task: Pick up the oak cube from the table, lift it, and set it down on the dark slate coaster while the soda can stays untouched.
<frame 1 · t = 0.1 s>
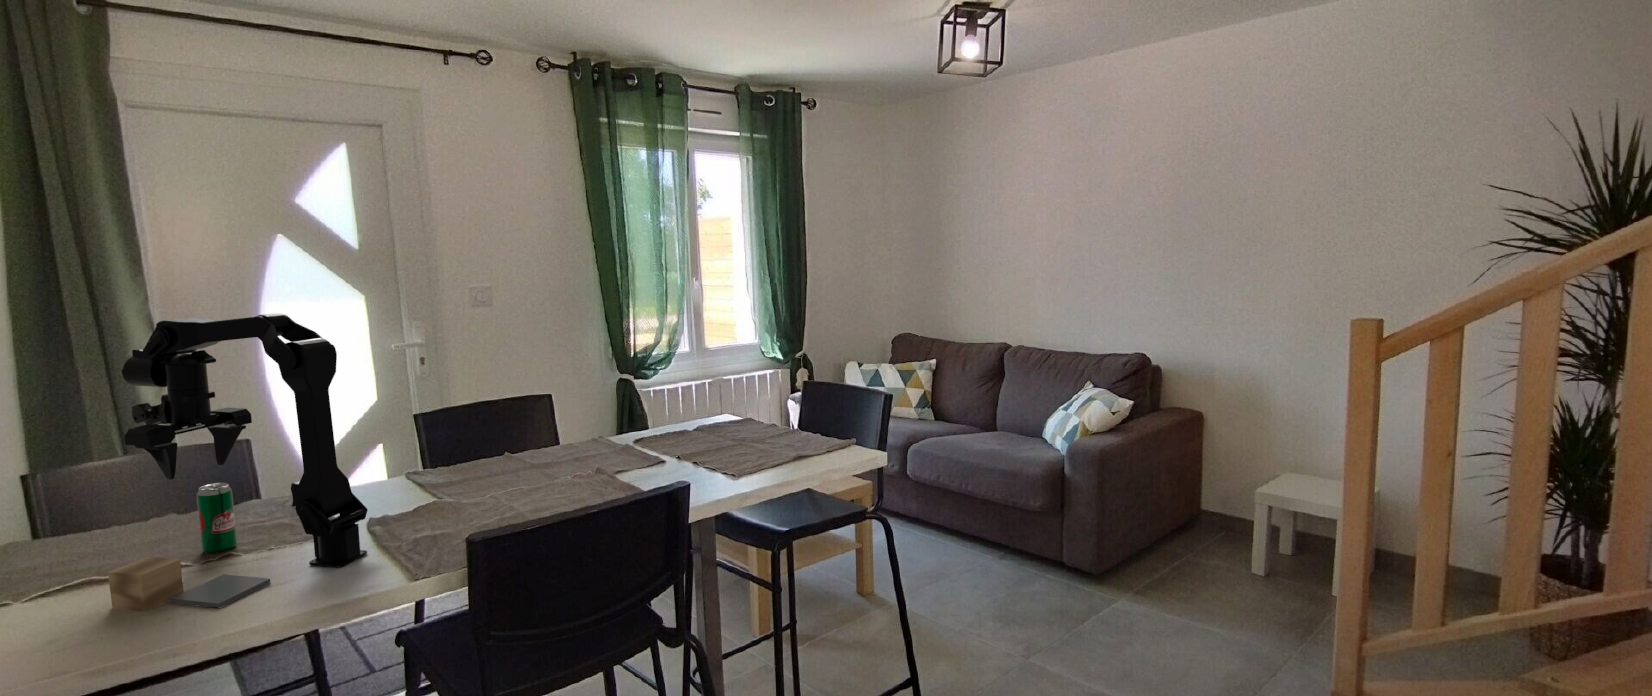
hand: (196, 471, 138), 15 cm above the table, tool pointing down, fingers open, 9 cm apart
soda can: (220, 549, 139), on the table
slate coaster: (221, 592, 122), on the table
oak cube: (148, 601, 119), on the table
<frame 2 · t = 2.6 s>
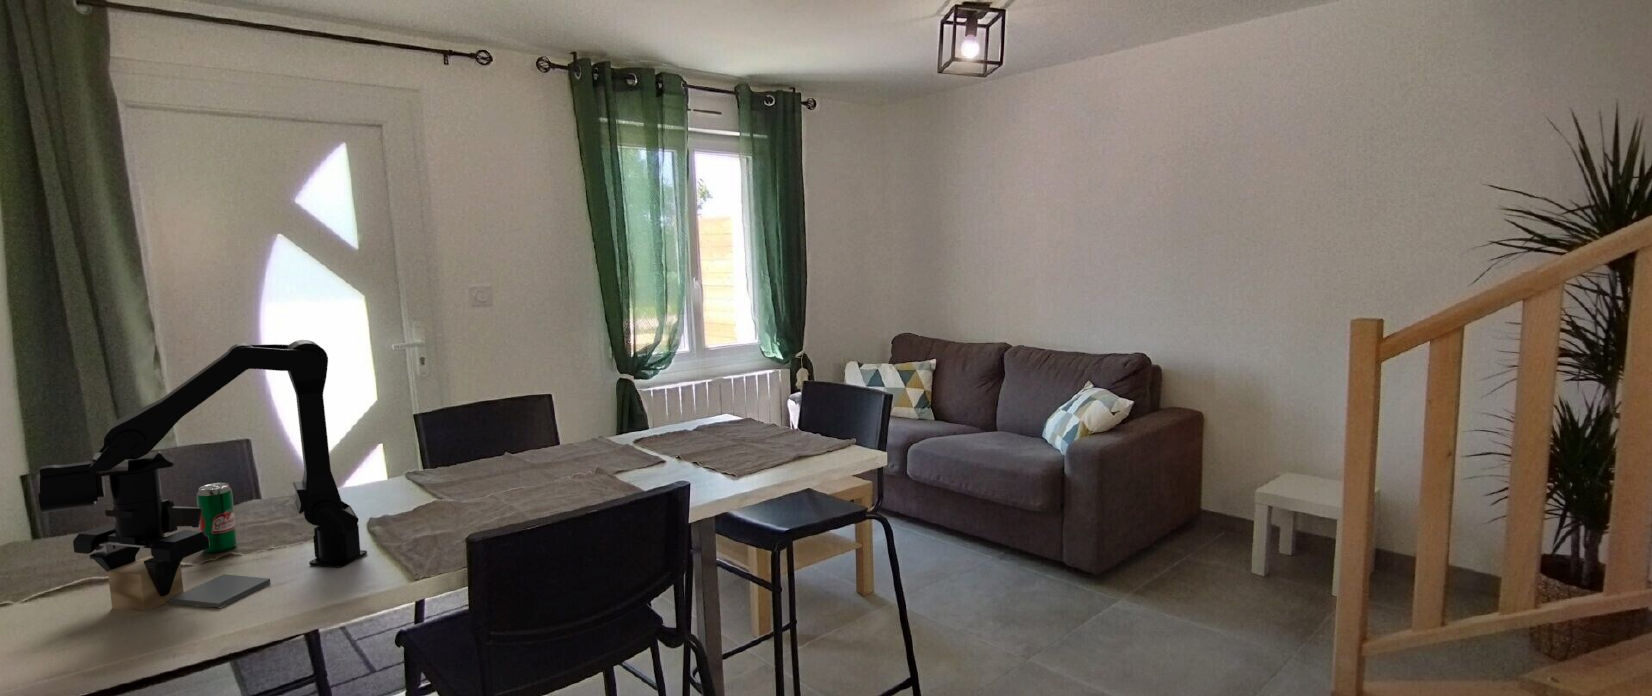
hand: (147, 593, 119), 1 cm above the table, tool pointing down, fingers closed on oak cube, 6 cm apart
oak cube: (148, 601, 119), on the table, touching gripper
everything else where it was.
when the fingers open (3 cm above the table, at t = 6.5 s): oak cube drops 1 cm, resting on slate coaster.
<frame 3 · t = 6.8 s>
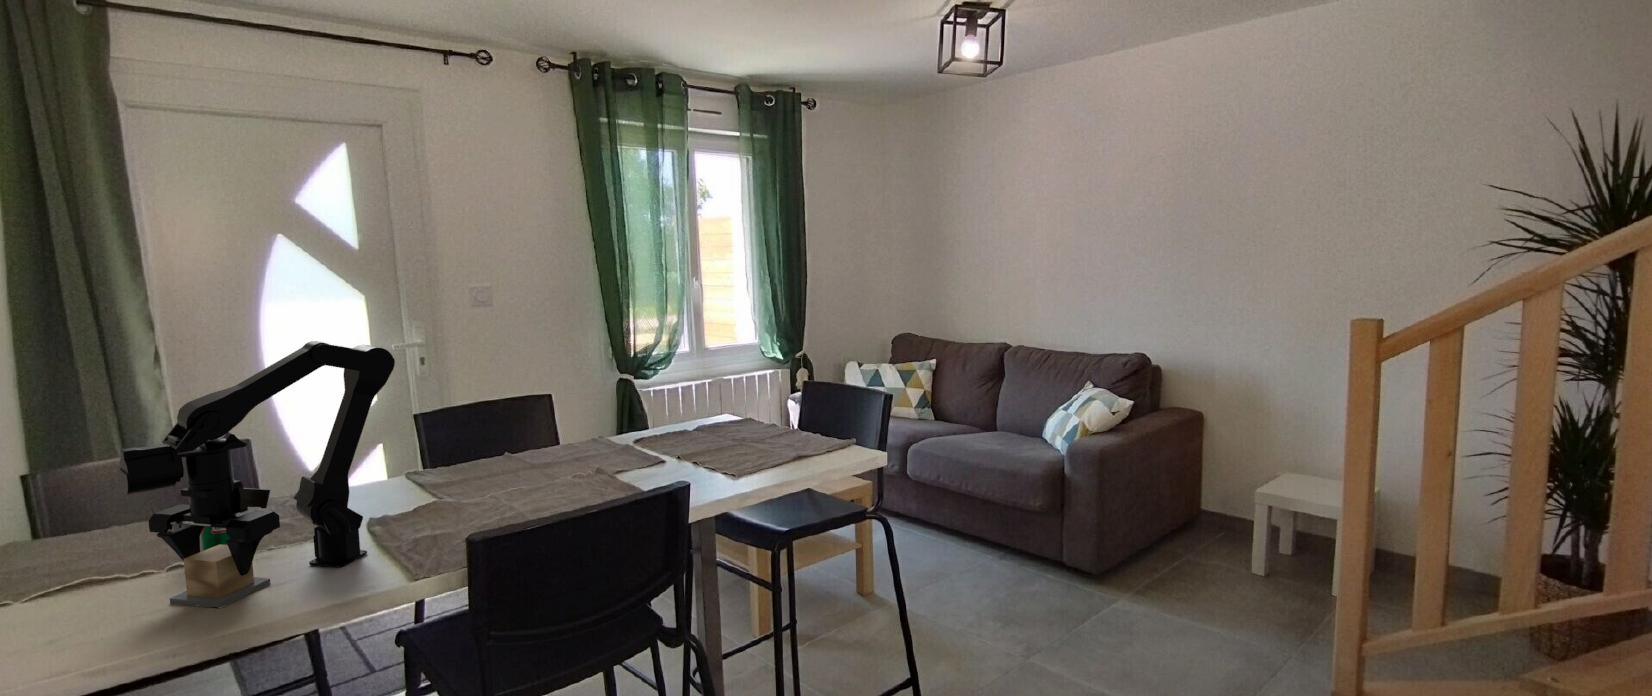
hand: (220, 572, 122), 3 cm above the table, tool pointing down, fingers open, 9 cm apart
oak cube: (221, 588, 122), point 1 cm above the table, touching slate coaster
everything else where it was.
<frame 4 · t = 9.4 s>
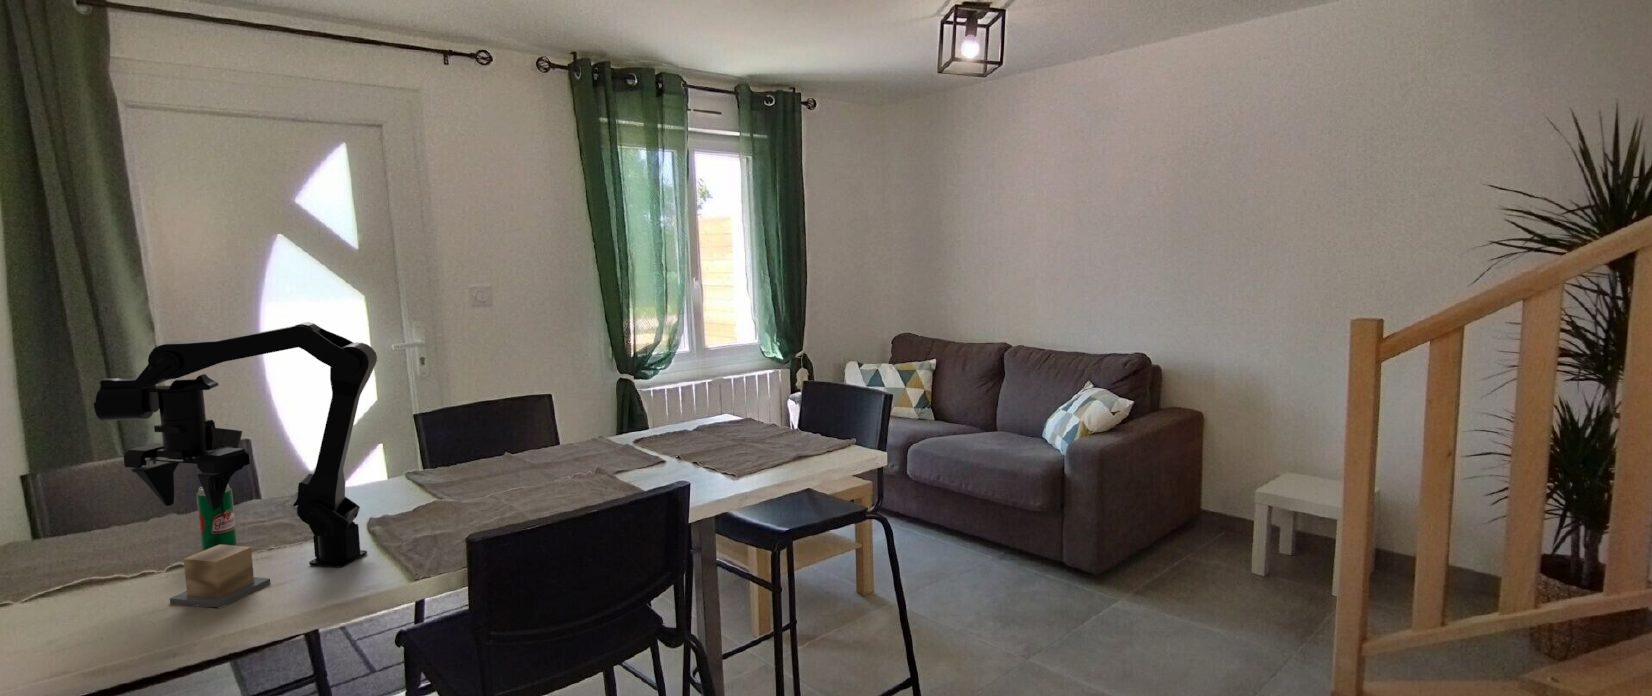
hand: (192, 507, 127), 12 cm above the table, tool pointing down, fingers open, 9 cm apart
nothing on the table moved.
at the end: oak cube inside the target area on the slate coaster (0.0 cm from its centre), point 0.8 cm above the slate coaster's base; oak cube tilted 0°; the gripper is holding nothing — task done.
